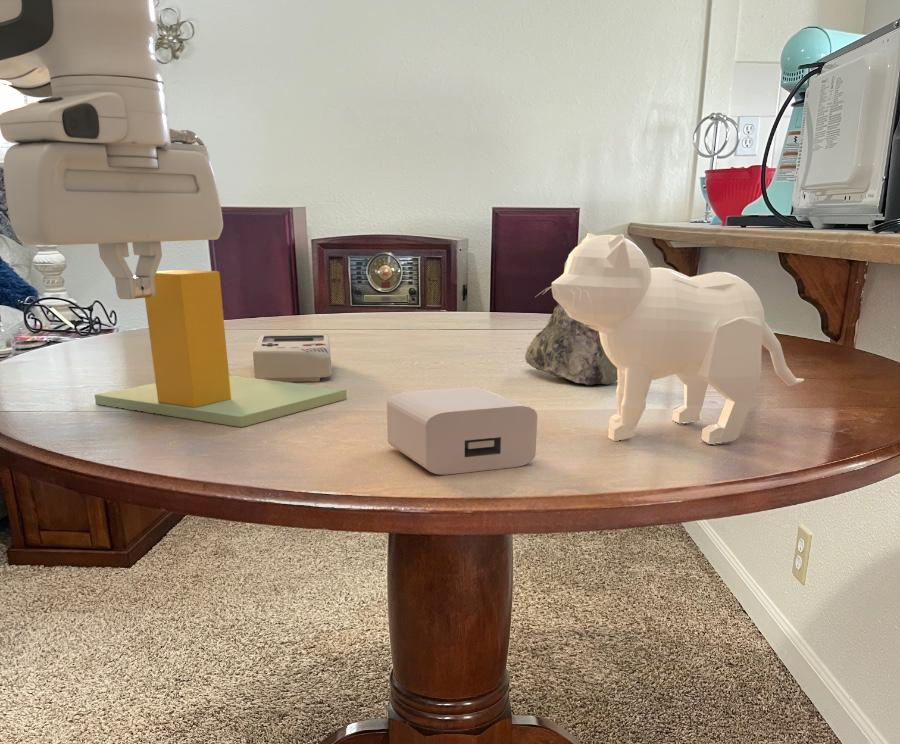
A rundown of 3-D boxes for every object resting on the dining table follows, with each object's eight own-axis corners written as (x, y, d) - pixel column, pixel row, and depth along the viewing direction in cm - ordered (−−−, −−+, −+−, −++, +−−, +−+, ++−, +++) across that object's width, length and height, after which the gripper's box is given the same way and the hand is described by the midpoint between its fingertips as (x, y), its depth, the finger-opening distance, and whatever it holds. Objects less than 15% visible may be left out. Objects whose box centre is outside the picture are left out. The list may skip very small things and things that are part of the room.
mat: (95, 404, 91) (94, 394, 91) (209, 381, 104) (208, 372, 103) (241, 427, 82) (240, 416, 81) (346, 398, 94) (346, 389, 94)
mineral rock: (521, 369, 112) (524, 285, 108) (606, 368, 113) (612, 285, 109) (535, 387, 101) (538, 294, 97) (628, 387, 101) (636, 294, 97)
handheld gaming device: (254, 383, 102) (252, 349, 101) (261, 363, 116) (259, 332, 114) (332, 383, 104) (330, 349, 102) (330, 363, 117) (329, 333, 115)
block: (157, 402, 87) (141, 272, 82) (195, 394, 91) (181, 269, 86) (194, 407, 85) (179, 274, 80) (231, 399, 89) (219, 271, 84)
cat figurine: (765, 415, 87) (792, 231, 80) (827, 440, 78) (863, 234, 71) (520, 426, 83) (526, 231, 76) (554, 453, 73) (565, 234, 66)
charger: (459, 425, 82) (535, 465, 70) (364, 434, 79) (426, 477, 67) (460, 374, 81) (538, 404, 68) (363, 380, 77) (426, 413, 65)
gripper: (180, 133, 83) (197, 288, 89) (-22, 114, 67) (14, 305, 73) (230, 130, 80) (244, 291, 86) (30, 110, 64) (64, 309, 70)
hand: (137, 298), depth 79 cm, fingers closed
